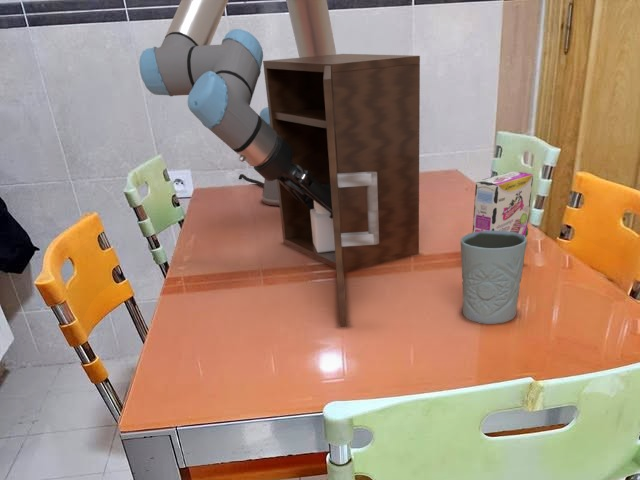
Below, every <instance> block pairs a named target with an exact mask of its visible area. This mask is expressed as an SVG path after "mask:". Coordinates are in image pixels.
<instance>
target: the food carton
mask: <svg viewBox="0 0 640 480" xmlns="http://www.w3.org/2000/svg"><path fill="white" fill-rule="evenodd" d="M533 181H534V174H532V173H527V172H521V171H508V172H505V173H502V174H497V175H494V176H490V177H487V178H484V179H480V180H477V181H475V190H474V205H473V220H472V233H474V232H480V231H509V232H515V233H519V234H522V235H524V236H525V237H526V238H527V236H526V233H527V226H528V225H529V224H528V222H529V215H530V208H531V198H532V188H533Z"/></svg>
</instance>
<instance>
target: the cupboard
mask: <svg viewBox="0 0 640 480" xmlns="http://www.w3.org/2000/svg"><path fill="white" fill-rule="evenodd" d="M262 65H263V73H264V82H265V89H266V91H265V92H266V100H267V107H268V109H269V118H270V126H271V127H272V128H273V129H274V130H275V131H276V133H277V135H279V136H280V137H281V138H282V139H283V140H284V141H285V142H286V143H288V144H289V145H290V146H291V148H292V150H293V157H292V164H293V165H295V164H297V165H299V166H300V167H301V168H302V169H303V171H304V170H307V171H309V173H310V174H311V175H312V176H313V177H314V178H315V179H316V180H317V181H318V182H319V183H321V184H322V185H324V184H330V170H329V155H328V141H327V127H326V112H325V98H324V83H323V77H324V67H325V66H331V80H332V95H333V111H334V127H335V143H336V159H337V174H341V173H357V172H377V189H378V222H379V244H376V245H362V246H345V247H342V255H343V270H344V273H349V272H352V271H353V272H354V271H357V270H361V269H364V268H368V267H373V266H377V265H381V264H385V263H388V262H392V261H397V260H401V259H404V258H408V257H412V256H417V255H420V123H421V121H420V118H421V117H420V111H421V110H420V109H421V108H420V107H421V106H420V105H421V104H420V101H421V100H420V99H421V98H420V97H421V95H420V94H421V93H420V92H421V90H420V89H421V88H420V87H421V83H420V82H421V56H420V55H411V54H409V55H408V54H407V55H405V54H403V55H402V54H371V53H370V54H367V53H365V54H364V53H336V54H335V55H324V56H312V57H301V58H299V57H290V58H280V59H269V60H262ZM276 180H277V179H276ZM277 188H278V197H279V206H278V207H279V214H280V222H281V231H282V232H281V233H282V240H283V244H285V245H287V246H289V247H291V248H293V249H295V250H297V251H299V252H301V253H303V254H305V255H307V256H309V257H311V258H313V259H315V260H317V261H319V262H321V263H324V264H326V265H327V266H330V267H331V268H334V269H336V257H335V251H331V252H322V253H318V252H317V250H316V248H315V246H314V244H313V237H312V226H311V214H310V210H311V209H309V208H308V207H307V206H308V204H307V205H304V204H303V203H302V202H301V201H300V202H299V201H297V199H296V198H295V197H294V196H293V195H292V194H291V193H290V192H289V191H288V190H287V189H286V188H285V187H284V186H283V185H282V184H281V183H280V182H279V181H278V180H277ZM338 191H339V207H340V223H341V233H354V232H368V212H367V186H357V187H340V188H338Z"/></svg>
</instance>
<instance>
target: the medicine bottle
mask: <svg viewBox="0 0 640 480" xmlns="http://www.w3.org/2000/svg"><path fill="white" fill-rule="evenodd" d="M323 186H324V187H325V188H326V189H328V190H329V191H330V192H331V184H324V185H323ZM314 208H315V209H311V210H310V214H311V226H312V237H313V244H314V246H315V248H316V250H317V252H318V253H322V252H331V251H335V242H334V228H333V218H332V219H331V218H330V215H331V214H330V212H328V211H327V210H326V209H324V208H323V207H322V206H321V205H319V204H318V203H317V202H315V201H314Z"/></svg>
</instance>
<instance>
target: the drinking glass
mask: <svg viewBox="0 0 640 480" xmlns="http://www.w3.org/2000/svg"><path fill="white" fill-rule="evenodd" d="M527 244H528V238H527V236H526V237H525V236H524V235H522V234H519V233H515V232H509V231H480V232H474V233H473V232H470V233H467V234H465V235H464V236H462V237H461V239H460V259H461V260H460V262H461V278H462V279H461V280H462V281H461V284H462V286H461V287H462V315H463V316H464V317H463V318H466V319H467V320H469V321H471V322H475V323H477V324H482V325H497V324H498V325H499V324H503V323H507V322H510V321H512V320H513V319H514V318H515V317H516V314H517V309H518V308H517V307H518V306H517V305H518V301H519V296H520V295H519V294H520V289H521V288H520V287H521V285H520V284H521V282H522V275H523V269H524V262H525V256H526V255H525V254H526V249H527Z"/></svg>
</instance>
